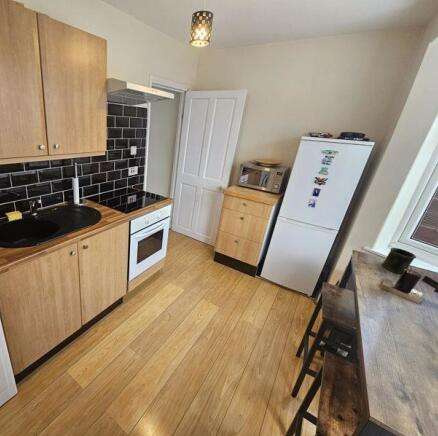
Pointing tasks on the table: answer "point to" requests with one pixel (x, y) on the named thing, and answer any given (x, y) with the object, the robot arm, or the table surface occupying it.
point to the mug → (398, 260)
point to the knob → (408, 280)
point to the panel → (390, 286)
